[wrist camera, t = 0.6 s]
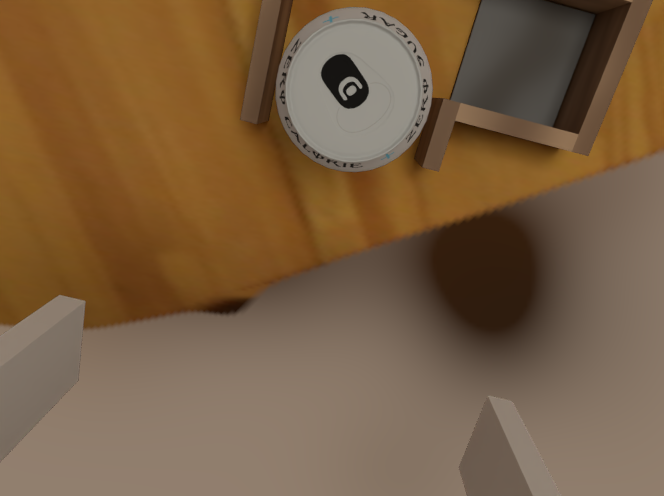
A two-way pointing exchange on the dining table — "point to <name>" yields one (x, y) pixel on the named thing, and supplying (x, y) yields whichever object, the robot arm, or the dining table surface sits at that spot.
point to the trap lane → (502, 71)
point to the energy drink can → (354, 89)
